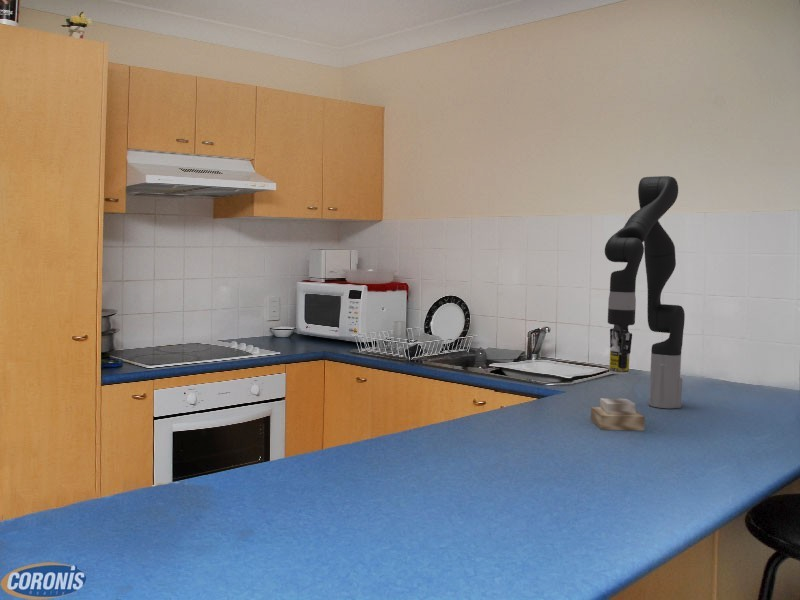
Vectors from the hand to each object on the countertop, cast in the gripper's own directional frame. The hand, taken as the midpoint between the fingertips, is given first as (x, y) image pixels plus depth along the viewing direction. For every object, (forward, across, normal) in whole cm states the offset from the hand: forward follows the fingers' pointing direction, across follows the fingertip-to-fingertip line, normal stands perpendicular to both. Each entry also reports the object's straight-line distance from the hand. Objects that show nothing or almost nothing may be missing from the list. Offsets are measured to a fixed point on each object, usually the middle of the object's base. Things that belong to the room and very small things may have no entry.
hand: (619, 366), depth 224 cm
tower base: (+17, 0, 0) cm, 17 cm away
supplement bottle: (+2, 0, 0) cm, 2 cm away
